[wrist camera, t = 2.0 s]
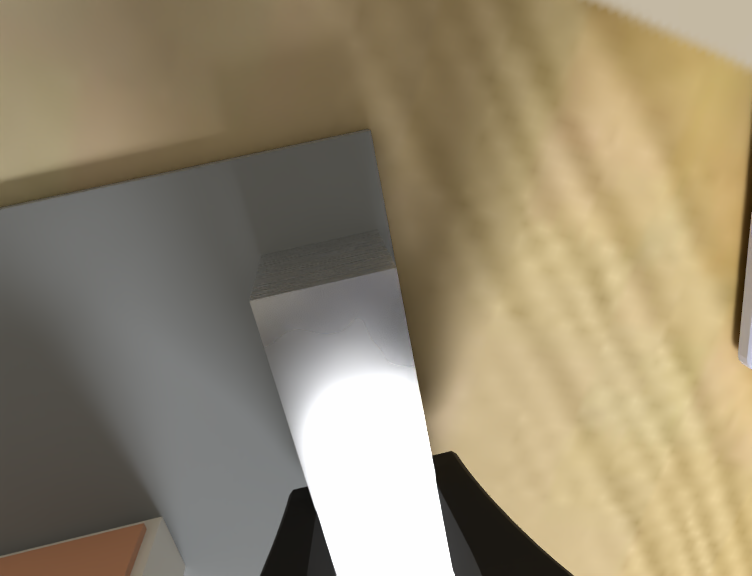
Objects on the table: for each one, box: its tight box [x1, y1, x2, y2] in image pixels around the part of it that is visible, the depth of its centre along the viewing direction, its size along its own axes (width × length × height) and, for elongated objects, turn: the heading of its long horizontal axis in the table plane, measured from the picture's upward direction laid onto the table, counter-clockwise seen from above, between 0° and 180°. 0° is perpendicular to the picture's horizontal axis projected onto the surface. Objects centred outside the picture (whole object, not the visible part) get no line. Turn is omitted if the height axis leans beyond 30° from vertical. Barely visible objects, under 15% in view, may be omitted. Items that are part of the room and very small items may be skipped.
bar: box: [249, 229, 454, 576], centre depth 12 cm, size 2×12×2 cm, turn 11°
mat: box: [0, 129, 430, 576], centre depth 13 cm, size 16×16×1 cm
